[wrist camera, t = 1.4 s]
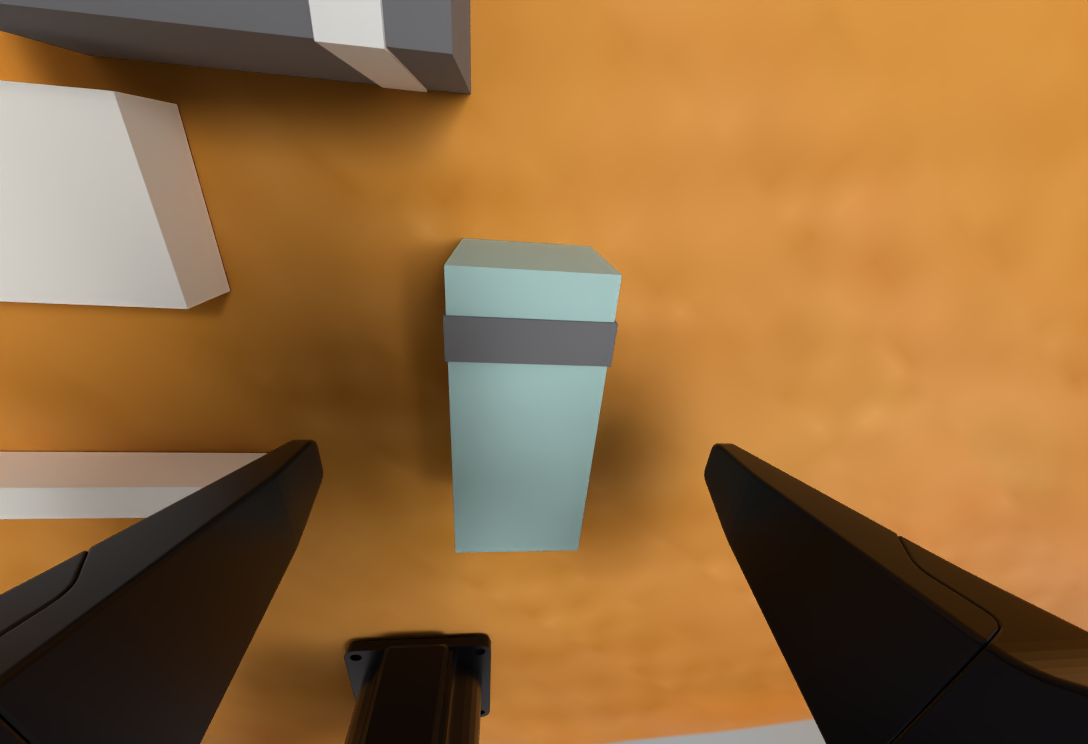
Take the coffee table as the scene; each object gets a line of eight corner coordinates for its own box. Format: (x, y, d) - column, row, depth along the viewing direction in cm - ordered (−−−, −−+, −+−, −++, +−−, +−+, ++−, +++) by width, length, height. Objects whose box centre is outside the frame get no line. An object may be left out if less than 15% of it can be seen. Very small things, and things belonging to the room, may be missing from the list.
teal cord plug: (591, 246, 11) (625, 276, 8) (564, 469, 15) (580, 553, 11) (461, 238, 11) (440, 265, 7) (465, 469, 14) (453, 555, 11)
